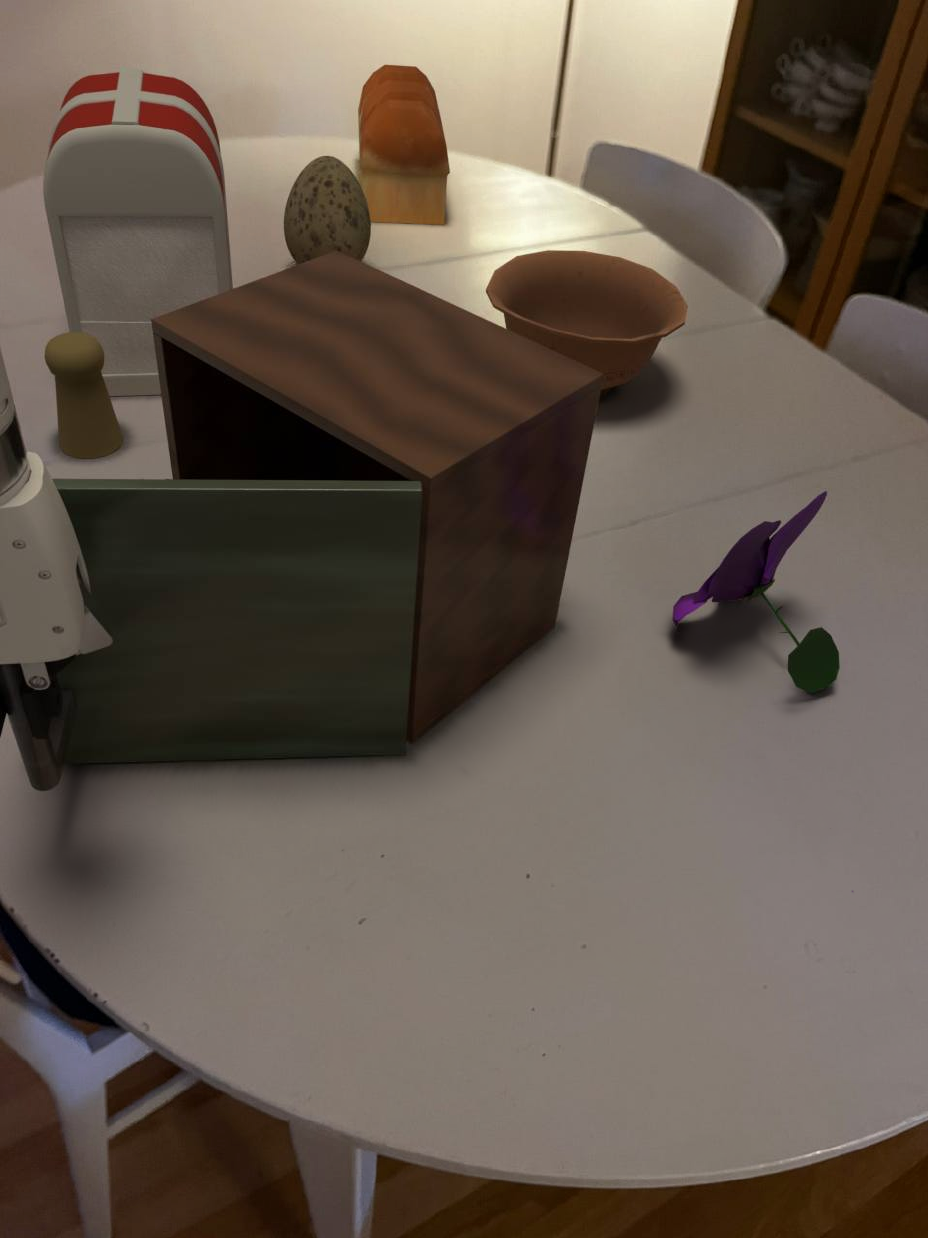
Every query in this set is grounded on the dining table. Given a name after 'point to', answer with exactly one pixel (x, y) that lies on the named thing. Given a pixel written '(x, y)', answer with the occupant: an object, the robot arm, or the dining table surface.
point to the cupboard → (397, 441)
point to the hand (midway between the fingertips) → (21, 720)
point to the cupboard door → (235, 623)
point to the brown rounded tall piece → (82, 397)
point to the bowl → (589, 308)
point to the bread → (402, 147)
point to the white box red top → (135, 214)
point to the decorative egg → (326, 212)
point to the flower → (750, 577)
